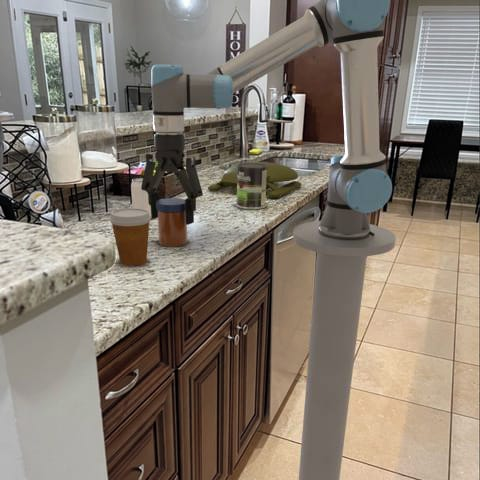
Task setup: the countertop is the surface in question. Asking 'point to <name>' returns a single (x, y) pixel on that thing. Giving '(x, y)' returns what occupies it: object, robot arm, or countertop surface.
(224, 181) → the spaceship
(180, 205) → the lid
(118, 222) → the disposable coffee cup
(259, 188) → the coffee can
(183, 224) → the jar
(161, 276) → the countertop surface
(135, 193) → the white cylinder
